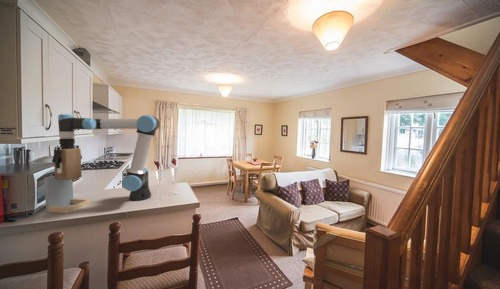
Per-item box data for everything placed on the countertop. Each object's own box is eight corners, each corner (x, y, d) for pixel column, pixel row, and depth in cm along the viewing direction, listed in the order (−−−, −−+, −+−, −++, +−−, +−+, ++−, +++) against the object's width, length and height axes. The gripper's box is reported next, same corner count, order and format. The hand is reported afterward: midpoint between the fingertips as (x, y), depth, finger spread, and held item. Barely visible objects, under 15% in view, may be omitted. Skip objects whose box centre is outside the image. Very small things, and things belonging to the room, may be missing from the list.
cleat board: (90, 203, 143) (89, 173, 141) (67, 213, 127) (65, 178, 125) (71, 202, 145) (69, 172, 143) (46, 211, 129) (44, 177, 127)
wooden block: (66, 180, 128) (65, 149, 127) (54, 179, 130) (52, 149, 129) (82, 177, 138) (81, 148, 137) (70, 176, 140) (69, 147, 139)
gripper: (78, 137, 144) (79, 167, 146) (42, 138, 121) (44, 174, 123) (87, 137, 143) (89, 168, 145) (53, 139, 120) (55, 175, 122)
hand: (68, 171), depth 134 cm, fingers closed on wooden block, 10 cm apart
